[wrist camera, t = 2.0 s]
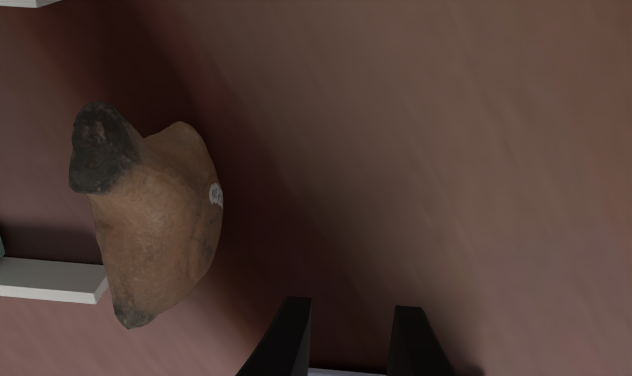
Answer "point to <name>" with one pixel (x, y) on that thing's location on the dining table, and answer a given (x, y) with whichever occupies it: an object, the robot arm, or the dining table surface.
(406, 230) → the dining table surface
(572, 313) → the dining table surface
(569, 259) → the dining table surface
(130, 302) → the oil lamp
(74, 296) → the pusher lane
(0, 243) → the panel
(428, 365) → the robot arm
